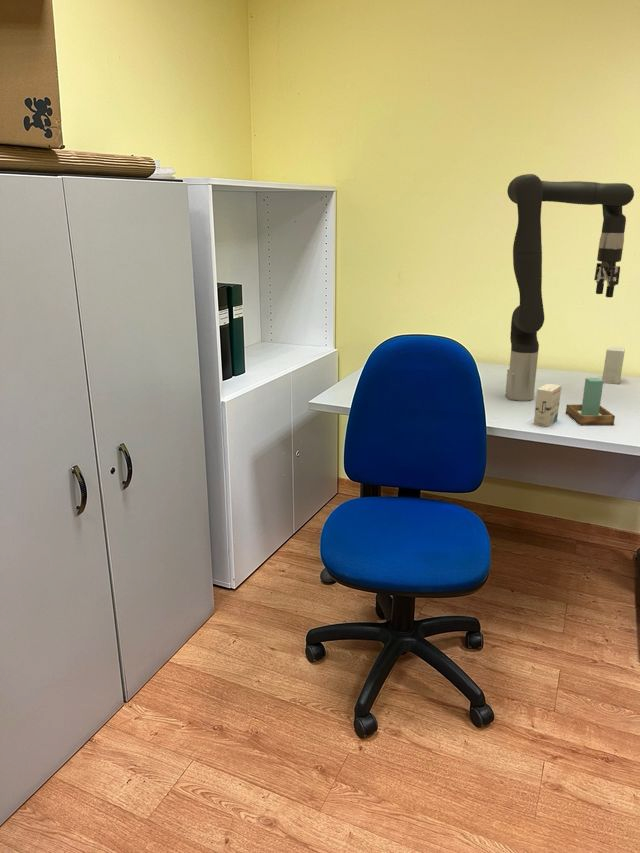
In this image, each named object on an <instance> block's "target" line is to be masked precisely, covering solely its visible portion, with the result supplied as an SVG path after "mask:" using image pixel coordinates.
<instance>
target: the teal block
mask: <svg viewBox="0 0 640 853" xmlns="http://www.w3.org/2000/svg"><path fill="white" fill-rule="evenodd" d="M584 380H585V381H584V388H583V394H582V395H583V396H582V402H581V403H582V410H581V414H582V415H599V409H600V406H601V402H602V401H601V400H602V392H603V386H604V383H603V381H602V378H599V377H586V378H585V379H584Z"/></svg>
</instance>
